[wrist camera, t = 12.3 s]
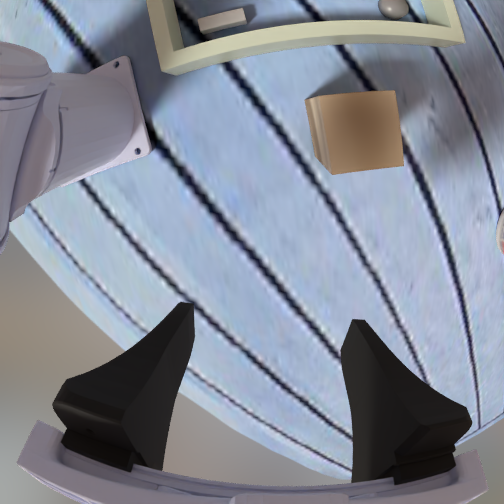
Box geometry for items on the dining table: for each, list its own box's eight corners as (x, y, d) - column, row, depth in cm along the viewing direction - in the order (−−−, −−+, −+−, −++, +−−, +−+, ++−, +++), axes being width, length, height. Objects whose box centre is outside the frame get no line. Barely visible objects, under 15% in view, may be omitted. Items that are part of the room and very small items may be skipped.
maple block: (315, 156, 19) (332, 174, 14) (304, 100, 18) (318, 96, 12) (369, 149, 19) (403, 165, 13) (360, 94, 17) (394, 90, 12)
